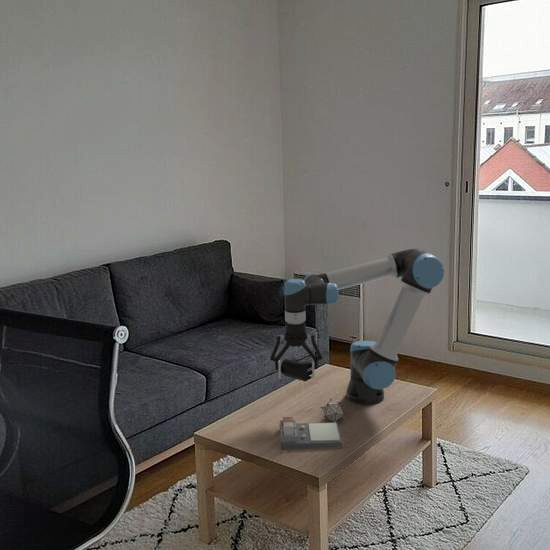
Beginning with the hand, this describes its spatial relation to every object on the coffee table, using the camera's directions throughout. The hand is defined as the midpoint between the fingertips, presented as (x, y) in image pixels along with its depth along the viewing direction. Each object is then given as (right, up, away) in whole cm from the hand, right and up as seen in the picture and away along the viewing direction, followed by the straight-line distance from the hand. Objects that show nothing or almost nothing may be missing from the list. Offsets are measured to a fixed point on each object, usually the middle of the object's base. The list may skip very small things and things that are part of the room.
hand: (296, 377), depth 247 cm
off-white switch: (-3, -17, -17) cm, 24 cm away
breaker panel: (+4, -19, -13) cm, 24 cm away
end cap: (0, -1, 0) cm, 1 cm away
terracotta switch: (-3, -17, -10) cm, 19 cm away
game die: (+14, -16, +1) cm, 21 cm away
